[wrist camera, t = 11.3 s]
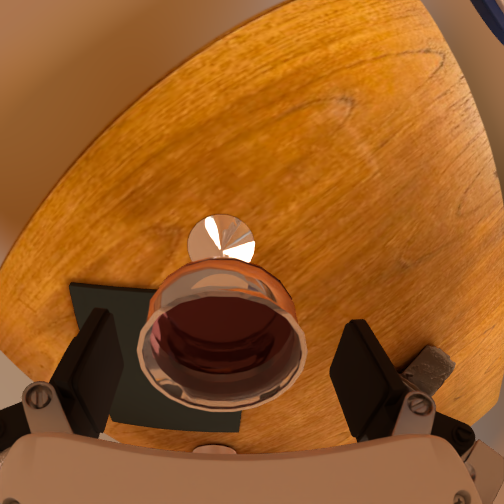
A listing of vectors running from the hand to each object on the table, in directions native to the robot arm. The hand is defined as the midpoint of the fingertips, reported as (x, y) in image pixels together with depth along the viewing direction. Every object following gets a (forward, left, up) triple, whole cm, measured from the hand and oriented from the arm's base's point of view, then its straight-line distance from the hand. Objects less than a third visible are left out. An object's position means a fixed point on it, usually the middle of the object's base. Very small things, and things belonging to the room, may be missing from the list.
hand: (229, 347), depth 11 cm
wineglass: (0, 0, -12) cm, 12 cm away
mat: (+14, -5, -12) cm, 19 cm away
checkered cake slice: (+16, +26, -12) cm, 33 cm away
